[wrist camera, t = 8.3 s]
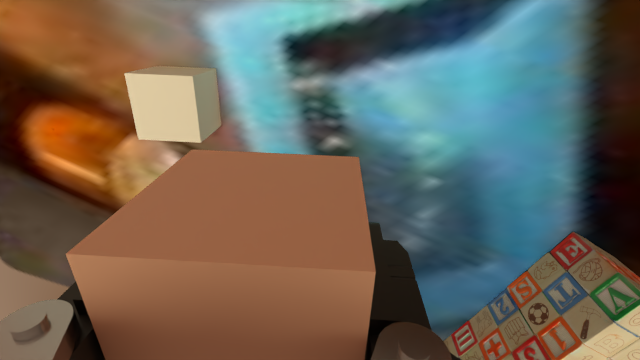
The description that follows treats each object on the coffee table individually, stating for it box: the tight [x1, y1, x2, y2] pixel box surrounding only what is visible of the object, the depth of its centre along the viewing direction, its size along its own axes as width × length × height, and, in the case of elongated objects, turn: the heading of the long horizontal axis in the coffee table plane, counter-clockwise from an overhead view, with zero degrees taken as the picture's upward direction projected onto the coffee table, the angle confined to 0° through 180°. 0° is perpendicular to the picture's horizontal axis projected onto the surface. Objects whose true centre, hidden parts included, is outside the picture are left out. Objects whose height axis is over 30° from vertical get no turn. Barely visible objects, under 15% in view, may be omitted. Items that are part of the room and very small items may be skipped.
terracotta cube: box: [66, 150, 376, 360], centre depth 9 cm, size 5×5×5 cm
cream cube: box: [125, 66, 221, 143], centre depth 27 cm, size 5×5×5 cm
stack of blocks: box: [443, 232, 640, 360], centre depth 32 cm, size 21×6×12 cm, turn 149°
